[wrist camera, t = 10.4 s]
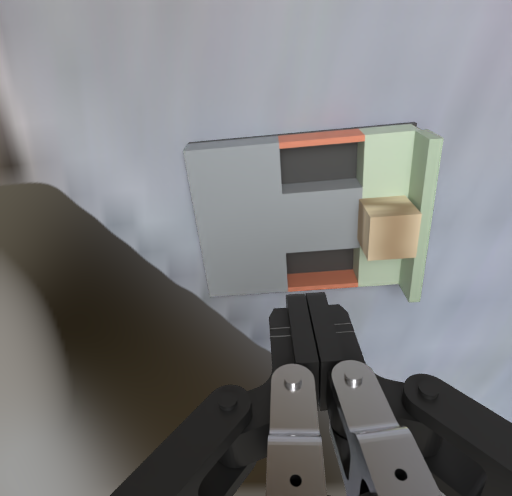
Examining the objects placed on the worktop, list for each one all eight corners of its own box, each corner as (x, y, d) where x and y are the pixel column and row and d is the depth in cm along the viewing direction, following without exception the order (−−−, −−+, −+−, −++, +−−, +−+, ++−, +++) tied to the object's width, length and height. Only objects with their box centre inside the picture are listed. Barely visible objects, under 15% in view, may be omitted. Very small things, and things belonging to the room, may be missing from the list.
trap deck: (212, 280, 42) (206, 316, 36) (188, 142, 34) (176, 161, 29) (399, 267, 41) (419, 301, 35) (414, 122, 33) (443, 138, 28)
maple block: (357, 238, 36) (367, 260, 32) (359, 198, 34) (370, 217, 30) (400, 235, 36) (415, 257, 32) (405, 195, 34) (422, 213, 30)
